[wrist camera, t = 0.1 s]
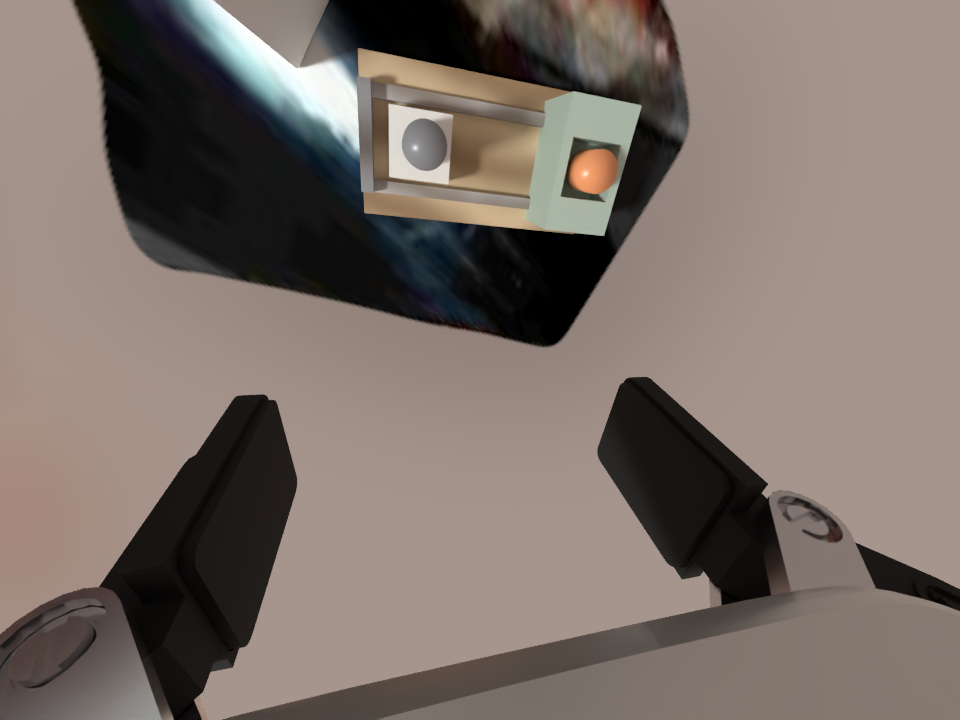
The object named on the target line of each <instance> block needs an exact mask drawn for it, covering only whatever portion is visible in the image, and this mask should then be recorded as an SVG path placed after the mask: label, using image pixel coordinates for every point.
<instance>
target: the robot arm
mask: <svg viewBox="0 0 960 720" xmlns="http://www.w3.org/2000/svg"><path fill="white" fill-rule="evenodd" d="M598 457H599V459H600V461H601V463H602V465H603V466H604V468H605V469H606V470H607V472H608V474H609V475H610V476H611V478H612V480H613V481H614V483H615V484H616V486H617V487H618V489H619V490H620V492H621V493H622V495H623V497H624V498H625V500H626V501H627V503H628V504H629V506H630V507H631V509H632V510H633V512H634V513H635V515H636V516H637V518H638V520H639V521H640V523H641V524H642V525H643V527H644V529H645V530H646V532H647V533H648V535H649V536H650V538H651V539H652V541H653V542H654V544H655V545H656V547H657V549H658V550H659V551H660V553H661V554H662V556H663V558H664V559H665V561H666V562H667V563H668V564H669V565H671V566H673V567H674V568H675V570H676V571H677V573H678V574H679V575H680V577H681V579H686V578H692V577H697V576H700V575H701V574H702V573H703V571H704V572H705V573H706V575H707V576H708V577H709V585H710V606H711V608H707V609H703V610H698V611H693V612H689V613H684V614H680V615H675V616H670V617H666V618H661V619H656V620H652V621H647V622H643V623H638V624H633V625H629V626H624V627H620V628H615V629H611V630H606V631H601V632H597V633H593V634H588V635H583V636H579V637H574V638H570V639H566V640H561V641H556V642H552V643H547V644H543V645H538V646H534V647H529V648H524V649H521V650H516V651H511V652H506V653H502V654H497V655H493V656H489V657H484V658H480V659H475V660H471V661H466V662H462V663H458V664H453V665H449V666H445V667H440V668H435V669H431V670H427V671H423V672H418V673H413V674H409V675H405V676H400V677H396V678H391V679H388V680H383V681H378V682H374V683H369V684H365V685H361V686H356V687H352V688H347V689H343V690H339V691H335V692H331V693H327V694H323V695H319V696H315V697H311V698H307V699H303V700H298V701H294V702H290V703H286V704H282V705H278V706H274V707H270V708H266V709H262V710H258V711H254V712H249V713H246V714H241V715H238V716H234V717H230V718H227V719H224V720H960V589H958V588H956V587H954V586H951V585H950V584H948V583H946V582H944V581H941V580H939V579H938V578H935V577H933V576H931V575H928V574H926V573H924V572H922V571H919V570H917V569H915V568H912V567H910V566H908V565H906V564H903V563H901V562H899V561H896V560H894V559H892V558H889V557H887V556H885V555H883V554H880V553H878V552H875V551H873V550H871V549H869V548H867V547H864V546H862V545H860V544H857V543H855V541H854V539H853V537H852V535H851V533H850V532H849V530H848V529H847V527H846V526H845V524H844V523H843V522H842V521H841V520H840V519H839V518H838V517H837V516H836V515H834V514H833V513H832V512H831V511H829V510H828V509H827V508H825V507H824V506H822V505H820V504H819V503H817V502H816V501H814V500H812V499H810V498H808V497H805V496H803V495H801V494H798V493H794V492H791V491H782V490H779V491H775V492H773V493H772V494H771V495H770V496H769V497H768V499H767V498H766V497H765V496H764V495H763V494H761V493H762V492H763V490H764V489H765V488H766V486H767V485H768V483H766V482H765V481H764V480H763V479H762V478H761V477H760V476H759V475H757V474H756V473H755V472H754V471H753V470H752V469H751V468H750V467H749V466H747V465H746V464H745V463H744V462H743V461H742V460H741V459H740V458H738V457H737V456H736V455H735V454H734V453H733V452H732V451H730V449H728V448H727V447H726V446H725V445H724V444H723V443H722V442H721V441H719V440H718V439H717V438H716V437H715V436H714V435H713V434H712V433H711V432H709V431H708V430H707V429H706V428H705V427H704V426H703V425H702V424H700V423H699V422H698V421H697V420H696V419H695V418H694V417H693V416H692V415H690V414H689V413H688V412H687V411H686V410H685V409H684V408H683V407H681V406H680V405H679V404H678V403H677V402H676V401H675V400H674V399H673V398H671V397H670V396H669V395H668V394H667V393H666V392H665V391H663V390H662V389H661V388H660V387H659V386H658V385H657V384H656V383H655V382H653V381H652V380H651V379H650V378H648V377H633V378H627V379H626V380H625V381H624V383H622V384H621V385H620V386H619V389H618V392H617V394H616V398H615V400H614V403H613V406H612V409H611V412H610V415H609V418H608V420H607V423H606V426H605V429H604V432H603V435H602V437H601V441H600V444H599V446H598ZM296 488H297V476H296V472H295V469H294V465H293V461H292V458H291V454H290V450H289V447H288V443H287V439H286V435H285V432H284V428H283V424H282V420H281V417H280V413H279V409H278V405H277V403H276V401H274V400H268V397H267V396H266V395H243V396H236V397H235V398H234V400H233V401H232V402H231V404H230V405H229V407H228V408H227V410H226V411H225V413H224V414H223V416H222V417H221V418H220V420H219V421H218V423H217V424H216V426H215V427H214V429H213V430H212V432H211V433H210V435H209V436H208V438H207V439H206V441H205V442H204V444H203V445H202V447H201V448H200V450H199V451H198V453H197V454H196V455H195V456H193V457H192V458H189V459H188V461H187V462H186V463H185V464H184V465H183V467H182V468H181V469H180V471H179V472H178V474H177V475H176V477H175V478H174V479H173V481H172V482H171V484H170V485H169V487H168V488H167V490H166V491H165V492H164V494H163V495H162V497H161V498H160V500H159V501H158V503H157V504H156V506H155V507H154V508H153V510H152V511H151V513H150V514H149V516H148V517H147V519H146V520H145V522H144V523H143V524H142V526H141V527H140V529H139V530H138V531H137V533H136V534H135V536H134V537H133V539H132V540H131V542H130V543H129V545H128V546H127V547H126V549H125V550H124V552H123V554H122V555H121V556H120V557H119V559H118V561H117V562H116V563H115V565H114V566H113V568H112V569H111V571H110V572H109V573H108V575H107V576H106V578H105V579H104V581H103V582H102V583H101V585H100V586H99V587H94V588H83V589H80V590H77V591H73V592H70V593H66V594H63V595H61V596H59V597H57V598H55V599H53V600H51V601H48V602H46V603H44V604H42V605H40V606H39V607H37V608H35V609H34V610H32V611H31V612H29V613H28V614H26V615H25V616H23V617H22V618H20V619H18V620H17V621H16V622H14V623H13V624H12V625H11V626H10V627H9V628H7V629H6V630H5V631H4V632H2V633H1V634H0V720H208V718H207V716H206V713H205V711H204V708H203V706H202V704H201V701H200V699H199V697H198V696H199V695H200V694H201V693H202V692H203V690H204V688H205V685H206V682H207V679H208V677H209V674H210V672H212V671H217V670H222V669H227V668H232V667H233V665H234V662H235V659H236V656H237V653H238V649H239V648H241V647H245V646H246V645H247V644H248V643H249V641H250V639H251V636H252V633H253V630H254V627H255V623H256V620H257V617H258V614H259V610H260V607H261V604H262V600H263V597H264V594H265V591H266V587H267V584H268V581H269V578H270V574H271V571H272V567H273V564H274V561H275V558H276V555H277V551H278V548H279V545H280V542H281V538H282V535H283V532H284V529H285V525H286V522H287V519H288V516H289V512H290V509H291V506H292V502H293V499H294V496H295V493H296Z"/></svg>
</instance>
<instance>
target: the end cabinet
mask: <svg viewBox="0 0 960 720" xmlns="http://www.w3.org/2000/svg"><path fill="white" fill-rule="evenodd" d="M641 107H642V105H637V104H633V103H628V102H623V101H618V100H613V99H609V98H604V97H599V96H594V95H589V94H584V93H580V92H575V91H573V92H570V93H567V94H564V95H561V96H558V97H556V98H553V99H550V100H547V101H545V105H544V111H543V113H545V114H546V117H545V122H544V127H541V128H540V134H539V139H538V145H537V151H536V156H535V162H534V168H533V173H532V179H531V185H530V190H529V196H528V198H530V199H531V200H530V205H529V210H528V209H526V213H525V219H526V220H528V221H529V222H531V223H533V224H535V225H537V226H539V227H541V228H543V229H544V230H552V231H562V232H572V233H582V234H592V235H601V236H604V234H605V230H606V227H607V224H608V220H609V217H610V213H611V210H612V206H613V203H614V200H615V196H616V193H617V189H618V186H619V182H620V179H621V176H622V172H623V169H624V165H625V162H626V158H627V155H628V151H629V148H630V145H631V141H632V138H633V134H634V131H635V127H636V124H637V121H638V117H639V114H640V110H641ZM584 149H606V150H609V151H610V152H612V153H613V154H614V156H615V158H616V160H617V174H616V177H615V180H614V182H613V183H612V185H611V186H610V187H609V188H608V189H607V190H606V191H604V192H602V193H599V194H591V193H587V192H582V191H578V190H574V189H572V188H571V187H570V186H569V185H568V183H567V180H566V175H565V174H566V169H567V165H568V161H569V160H570V158H571V157H572V156H573V155H574V154H575V153H576V152H578V151H580V150H584Z"/></svg>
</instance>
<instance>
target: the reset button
mask: <svg viewBox="0 0 960 720" xmlns="http://www.w3.org/2000/svg"><path fill="white" fill-rule="evenodd" d="M616 174H617V160H616V158H615V156H614V154H613V153H612V152H610V151H609V150H606V149H584V150H580V151H578V152H576V153H575V154H574V155H573V156H572V157H571V158H570V160H569V161H568V165H567V169H566V174H565V175H566V180H567V183H568V185H569V186H570V187H571V188H572V189H574V190H578V191H582V192H587V193H591V194H599V193H602V192H604V191H606V190H607V189H608V188H609V187H610V186H611V185H612V183H613V182H614V180H615V177H616Z"/></svg>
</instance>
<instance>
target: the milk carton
mask: <svg viewBox="0 0 960 720" xmlns="http://www.w3.org/2000/svg"><path fill="white" fill-rule="evenodd" d="M214 1H215V2H216V3H217V4H218V5H220V6H221V7H222V8H223V9H225V10H226V11H227V12H228V13H229V14H231V15H232V16H233V17H234V18H236V19H237V20H238V21H239V22H240V23H242V24H243V25H244V26H245V27H247V28H248V29H249V30H250V31H251V32H253V33H254V34H255V35H256V36H258V37H259V38H260V39H261V40H263V41H264V42H265V43H266V44H267V45H269V46H270V47H271V48H272V49H274V50H275V51H276V52H277V53H278V54H280V55H281V56H282V57H283V58H285V59H286V60H287V61H288V62H289V63H291V64H292V65H293V66H294V67H296V68H298V67H299V66H300V64H301V62H302V60H303V57H304V55H305V53H306V51H307V49H308V46H309V44H310V42H311V40H312V37H313V35H314V33H315V31H316V29H317V26H318V24H319V22H320V20H321V17H322V15H323V13H324V11H325V8H326V6H327V4H328V2H329V0H214Z"/></svg>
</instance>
